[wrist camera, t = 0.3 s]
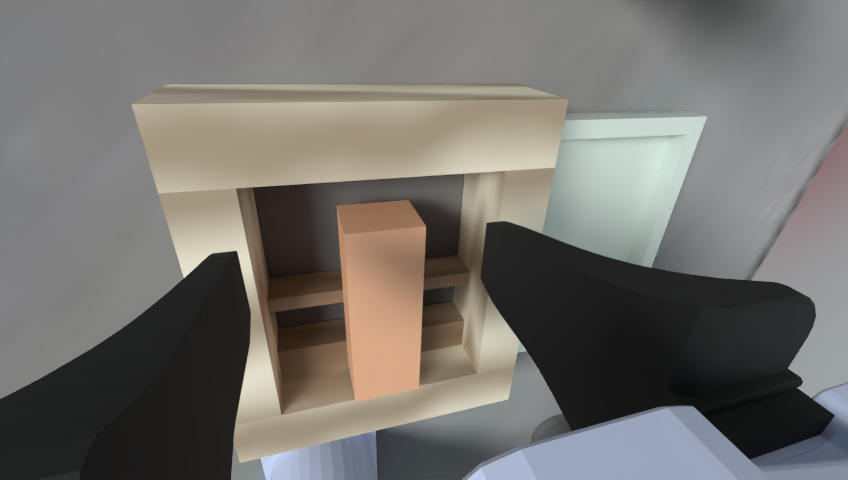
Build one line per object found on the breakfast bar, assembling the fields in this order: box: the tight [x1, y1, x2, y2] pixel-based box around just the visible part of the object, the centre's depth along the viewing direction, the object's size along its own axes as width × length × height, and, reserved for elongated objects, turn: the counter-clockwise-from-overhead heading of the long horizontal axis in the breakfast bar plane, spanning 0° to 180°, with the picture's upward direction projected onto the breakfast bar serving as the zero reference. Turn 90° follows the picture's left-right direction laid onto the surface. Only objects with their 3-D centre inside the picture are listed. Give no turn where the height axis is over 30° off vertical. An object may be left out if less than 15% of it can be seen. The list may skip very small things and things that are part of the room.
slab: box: [337, 200, 426, 402], centre depth 20 cm, size 10×4×3 cm, turn 177°
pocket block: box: [132, 84, 569, 463], centre depth 21 cm, size 18×16×4 cm
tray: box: [518, 110, 707, 353], centre depth 26 cm, size 16×11×2 cm
